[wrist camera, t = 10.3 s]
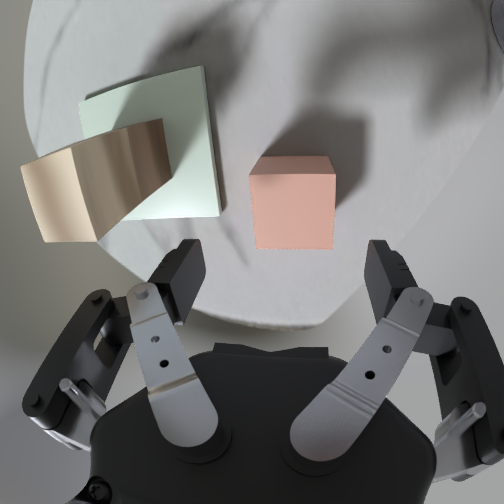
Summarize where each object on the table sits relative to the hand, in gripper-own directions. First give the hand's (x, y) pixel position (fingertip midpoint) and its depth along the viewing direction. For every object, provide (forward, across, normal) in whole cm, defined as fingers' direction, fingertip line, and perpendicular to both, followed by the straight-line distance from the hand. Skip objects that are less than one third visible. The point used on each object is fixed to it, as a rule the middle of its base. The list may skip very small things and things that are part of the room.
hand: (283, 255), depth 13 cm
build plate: (+10, +12, -4) cm, 15 cm away
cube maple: (+4, +12, -4) cm, 13 cm away
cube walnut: (+9, +12, -4) cm, 15 cm away
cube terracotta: (+10, 0, 0) cm, 10 cm away
